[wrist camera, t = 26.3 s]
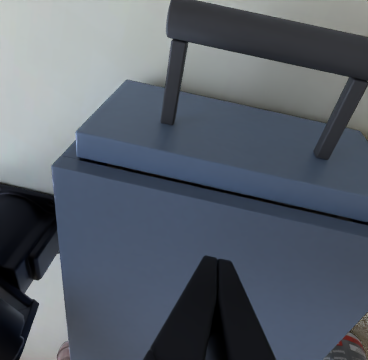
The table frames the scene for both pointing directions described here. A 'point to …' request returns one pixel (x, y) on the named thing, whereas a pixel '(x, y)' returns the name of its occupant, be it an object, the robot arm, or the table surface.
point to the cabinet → (197, 261)
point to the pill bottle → (347, 349)
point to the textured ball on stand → (64, 352)
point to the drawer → (242, 119)
